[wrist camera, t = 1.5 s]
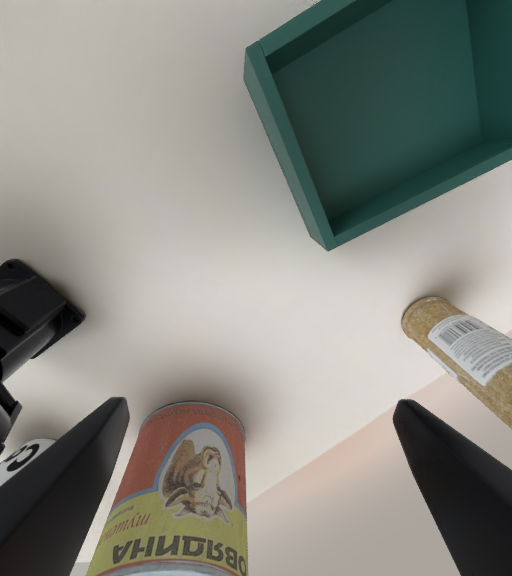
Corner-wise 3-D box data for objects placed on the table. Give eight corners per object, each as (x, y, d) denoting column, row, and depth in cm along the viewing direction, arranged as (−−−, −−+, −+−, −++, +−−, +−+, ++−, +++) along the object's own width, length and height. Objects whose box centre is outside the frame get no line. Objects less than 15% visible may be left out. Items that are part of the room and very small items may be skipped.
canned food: (261, 416, 27) (277, 579, 16) (224, 479, 31) (217, 646, 20) (153, 389, 25) (87, 560, 14) (128, 462, 29) (61, 641, 18)
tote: (310, 237, 20) (327, 251, 16) (243, 78, 16) (245, 48, 12) (485, 148, 18) (550, 140, 14) (463, -58, 14) (547, -145, 10)
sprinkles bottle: (402, 343, 24) (569, 513, 12) (397, 303, 23) (588, 455, 10) (450, 329, 24) (671, 487, 12) (449, 287, 22) (710, 423, 10)
